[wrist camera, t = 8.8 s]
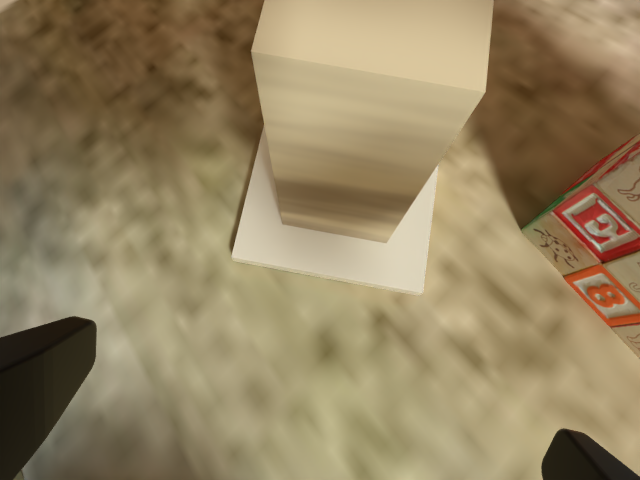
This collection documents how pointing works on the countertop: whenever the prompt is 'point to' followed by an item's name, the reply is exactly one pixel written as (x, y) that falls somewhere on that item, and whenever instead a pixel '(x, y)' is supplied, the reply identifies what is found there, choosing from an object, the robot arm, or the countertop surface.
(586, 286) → the stack of blocks
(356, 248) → the tile
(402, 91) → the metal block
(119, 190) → the countertop surface
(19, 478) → the sage jar
